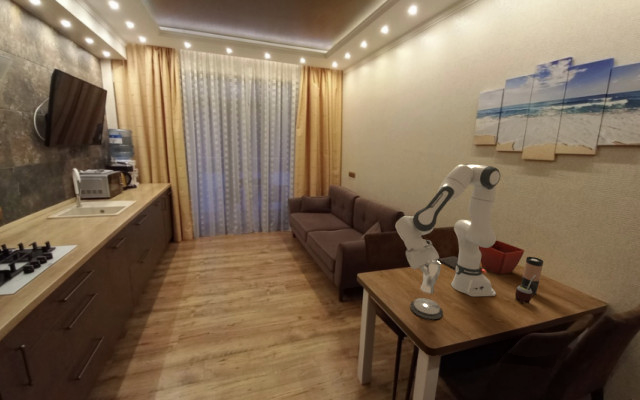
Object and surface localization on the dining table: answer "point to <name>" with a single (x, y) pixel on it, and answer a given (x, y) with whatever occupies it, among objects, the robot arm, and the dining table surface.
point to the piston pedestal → (426, 309)
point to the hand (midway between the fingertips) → (432, 272)
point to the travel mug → (532, 273)
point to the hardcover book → (449, 261)
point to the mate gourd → (524, 293)
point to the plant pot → (500, 257)
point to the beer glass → (430, 276)
